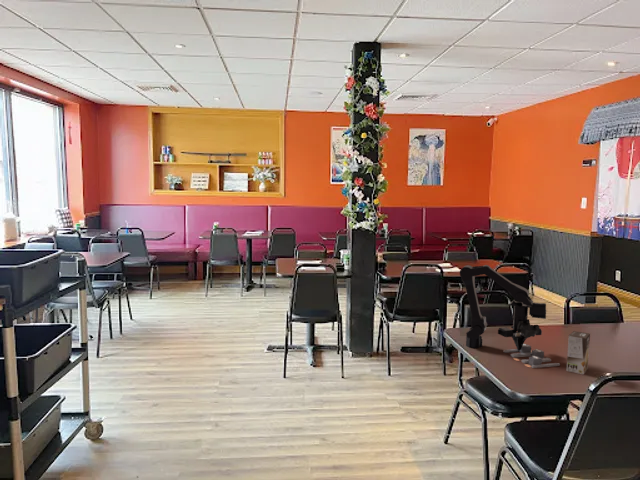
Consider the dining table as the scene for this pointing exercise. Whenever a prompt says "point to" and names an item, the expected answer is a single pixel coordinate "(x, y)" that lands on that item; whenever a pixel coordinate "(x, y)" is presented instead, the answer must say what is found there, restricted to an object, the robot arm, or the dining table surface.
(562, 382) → the dining table surface
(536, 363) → the tab
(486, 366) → the dining table surface
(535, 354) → the tab
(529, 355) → the switch board
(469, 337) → the robot arm
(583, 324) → the dining table surface
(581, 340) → the coffee box
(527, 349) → the tab
